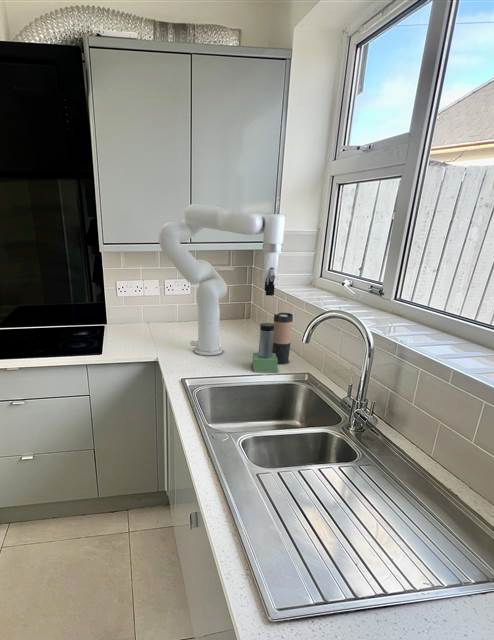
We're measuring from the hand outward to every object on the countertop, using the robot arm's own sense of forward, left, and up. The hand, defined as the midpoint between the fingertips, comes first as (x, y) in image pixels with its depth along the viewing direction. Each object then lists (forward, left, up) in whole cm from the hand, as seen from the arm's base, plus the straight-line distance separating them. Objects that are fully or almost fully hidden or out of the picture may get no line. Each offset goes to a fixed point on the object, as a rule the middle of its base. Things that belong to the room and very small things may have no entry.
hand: (268, 293), depth 163 cm
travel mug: (+7, 0, -28) cm, 29 cm away
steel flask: (+3, -11, -23) cm, 26 cm away
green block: (+3, -11, -28) cm, 30 cm away
